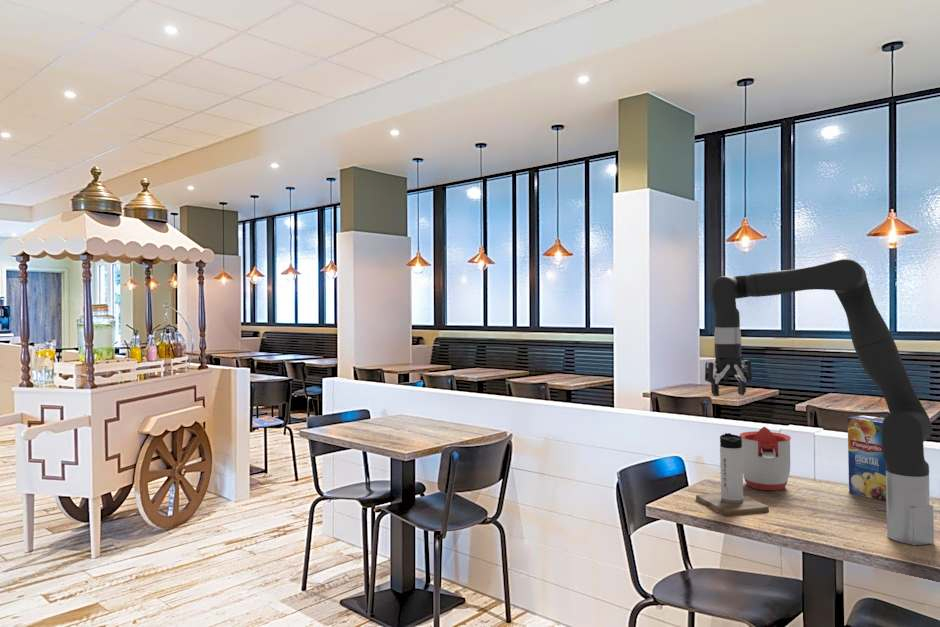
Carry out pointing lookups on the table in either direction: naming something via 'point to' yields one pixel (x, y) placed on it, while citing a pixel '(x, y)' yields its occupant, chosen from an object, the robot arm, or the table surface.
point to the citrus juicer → (766, 459)
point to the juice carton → (866, 457)
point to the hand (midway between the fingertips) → (728, 395)
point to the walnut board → (732, 505)
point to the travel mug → (731, 468)
